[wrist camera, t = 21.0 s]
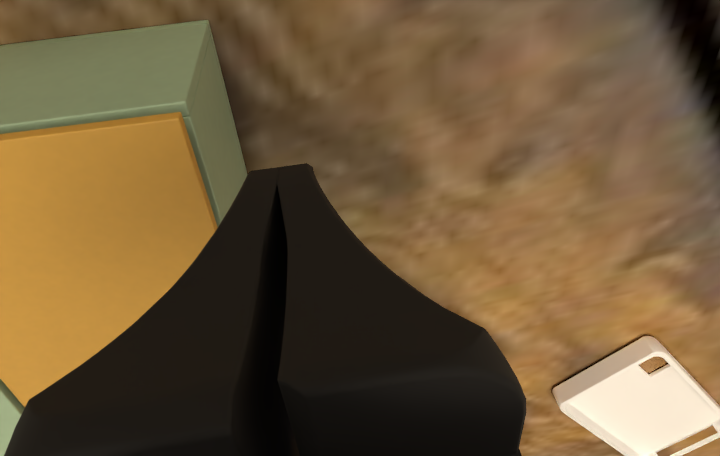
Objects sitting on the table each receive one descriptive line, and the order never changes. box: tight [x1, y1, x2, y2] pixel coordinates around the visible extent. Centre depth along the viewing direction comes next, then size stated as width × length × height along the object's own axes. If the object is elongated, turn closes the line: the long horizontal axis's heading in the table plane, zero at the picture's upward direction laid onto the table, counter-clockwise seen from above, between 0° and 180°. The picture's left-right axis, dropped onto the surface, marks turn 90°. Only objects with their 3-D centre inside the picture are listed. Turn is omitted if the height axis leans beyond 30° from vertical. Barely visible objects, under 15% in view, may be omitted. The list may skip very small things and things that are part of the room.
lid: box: [0, 112, 218, 407], centre depth 17 cm, size 8×13×1 cm, turn 5°
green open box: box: [0, 20, 247, 456], centre depth 19 cm, size 17×13×7 cm
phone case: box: [552, 336, 720, 456], centre depth 37 cm, size 7×1×15 cm
